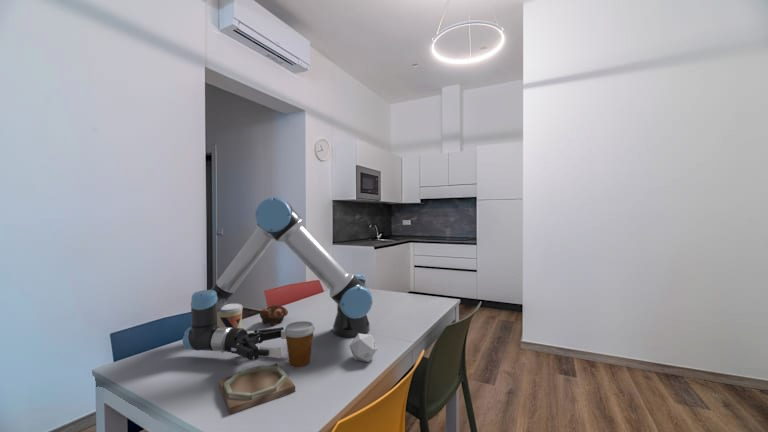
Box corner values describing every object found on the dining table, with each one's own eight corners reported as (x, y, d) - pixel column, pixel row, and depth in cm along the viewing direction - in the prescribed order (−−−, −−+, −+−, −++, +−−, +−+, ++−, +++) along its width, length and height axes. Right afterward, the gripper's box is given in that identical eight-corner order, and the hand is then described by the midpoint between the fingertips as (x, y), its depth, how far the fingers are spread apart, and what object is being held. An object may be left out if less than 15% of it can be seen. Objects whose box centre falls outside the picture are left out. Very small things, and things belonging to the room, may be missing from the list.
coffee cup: (219, 343, 114) (219, 311, 114) (213, 336, 121) (213, 306, 121) (245, 337, 120) (245, 306, 120) (238, 330, 127) (238, 302, 127)
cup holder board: (276, 368, 95) (276, 360, 95) (295, 391, 82) (295, 382, 82) (218, 385, 86) (218, 376, 86) (229, 414, 73) (229, 403, 73)
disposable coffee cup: (306, 371, 93) (306, 332, 93) (278, 368, 95) (278, 330, 95) (319, 357, 102) (319, 321, 102) (293, 355, 104) (293, 320, 104)
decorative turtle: (252, 327, 131) (252, 308, 132) (277, 319, 145) (277, 302, 146) (270, 329, 128) (270, 309, 128) (293, 320, 141) (293, 303, 142)
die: (359, 370, 95) (377, 343, 96) (340, 351, 99) (358, 326, 100) (368, 368, 102) (385, 343, 103) (350, 350, 106) (367, 327, 107)
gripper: (252, 336, 114) (306, 339, 111) (202, 369, 89) (270, 374, 86) (252, 316, 114) (305, 319, 111) (202, 343, 89) (270, 347, 86)
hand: (290, 343), depth 99 cm, fingers open, 13 cm apart
